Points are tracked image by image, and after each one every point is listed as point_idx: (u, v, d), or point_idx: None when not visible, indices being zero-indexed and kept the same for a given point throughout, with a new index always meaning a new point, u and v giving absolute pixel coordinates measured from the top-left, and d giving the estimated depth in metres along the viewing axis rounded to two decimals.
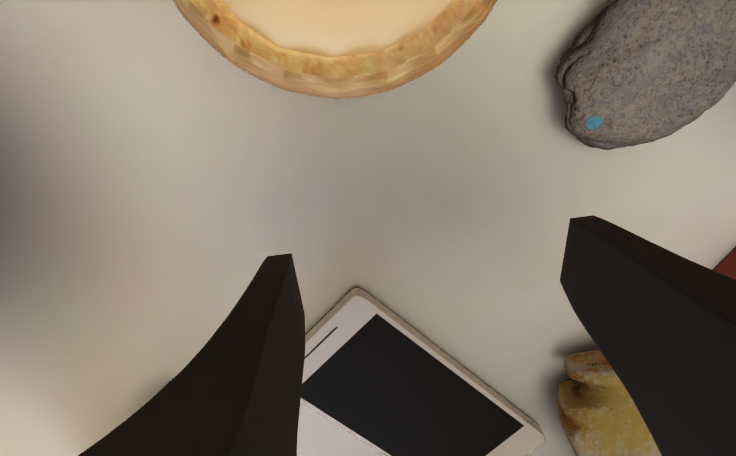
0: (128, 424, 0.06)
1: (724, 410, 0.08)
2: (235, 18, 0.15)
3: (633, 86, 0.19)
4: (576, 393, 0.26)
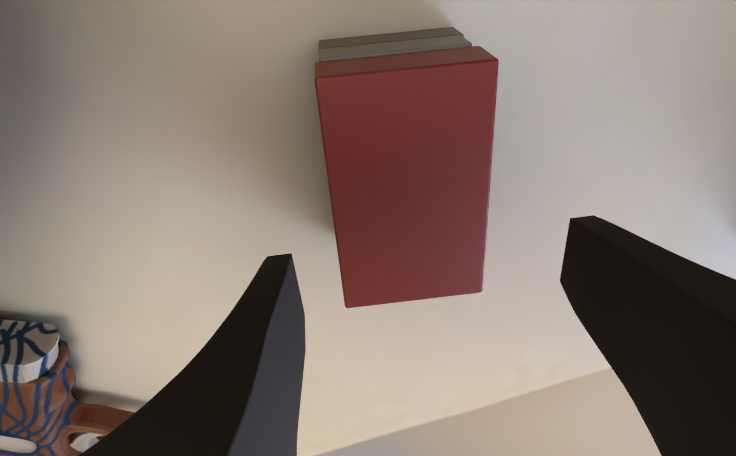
0: (128, 424, 0.06)
1: (724, 410, 0.08)
2: None
3: None
4: None
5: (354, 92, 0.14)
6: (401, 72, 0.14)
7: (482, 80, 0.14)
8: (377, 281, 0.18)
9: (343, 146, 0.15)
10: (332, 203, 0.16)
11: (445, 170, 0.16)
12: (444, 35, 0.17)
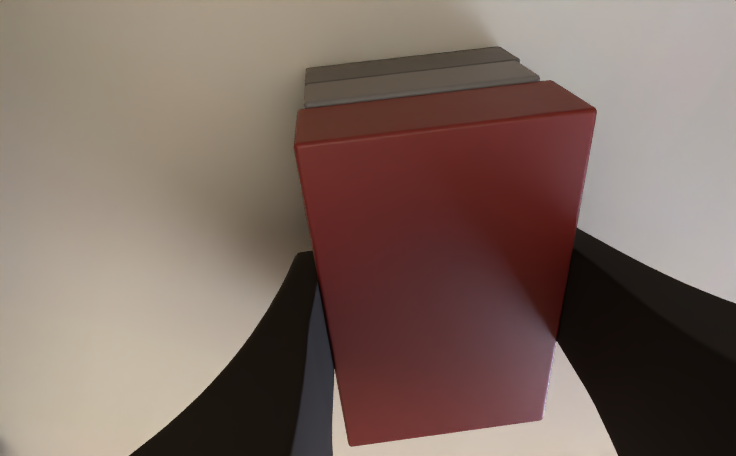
0: (184, 417, 0.07)
1: (673, 416, 0.08)
2: None
3: None
4: None
5: (360, 165, 0.09)
6: (438, 131, 0.08)
7: (568, 141, 0.09)
8: (394, 414, 0.13)
9: (343, 243, 0.09)
10: (327, 320, 0.11)
11: (500, 271, 0.10)
12: (491, 60, 0.11)
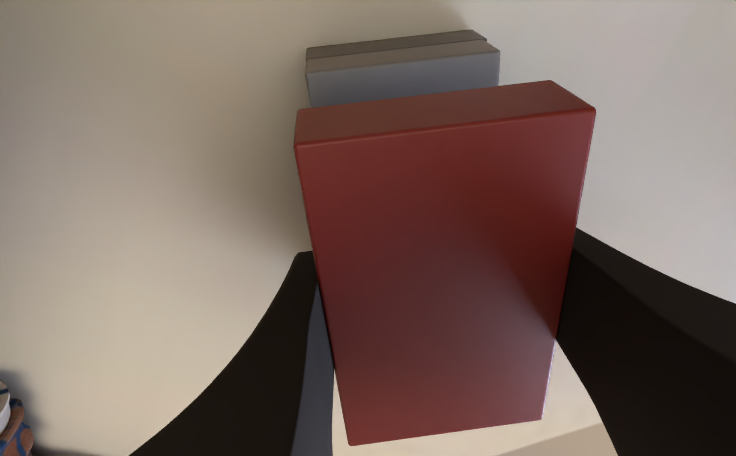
0: (184, 416, 0.07)
1: (673, 417, 0.08)
2: None
3: None
4: None
5: (360, 164, 0.09)
6: (438, 131, 0.08)
7: (568, 141, 0.09)
8: (394, 414, 0.13)
9: (343, 243, 0.10)
10: (327, 320, 0.11)
11: (500, 271, 0.10)
12: (462, 40, 0.14)
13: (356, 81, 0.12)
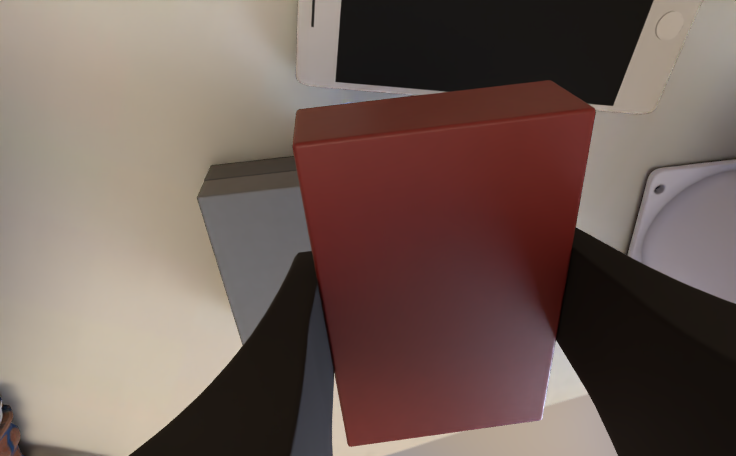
0: (184, 417, 0.07)
1: (672, 416, 0.08)
2: None
3: None
4: None
5: (359, 165, 0.09)
6: (437, 132, 0.08)
7: (567, 141, 0.09)
8: (393, 414, 0.12)
9: (342, 243, 0.09)
10: (326, 321, 0.11)
11: (500, 271, 0.10)
12: None
13: (231, 202, 0.19)
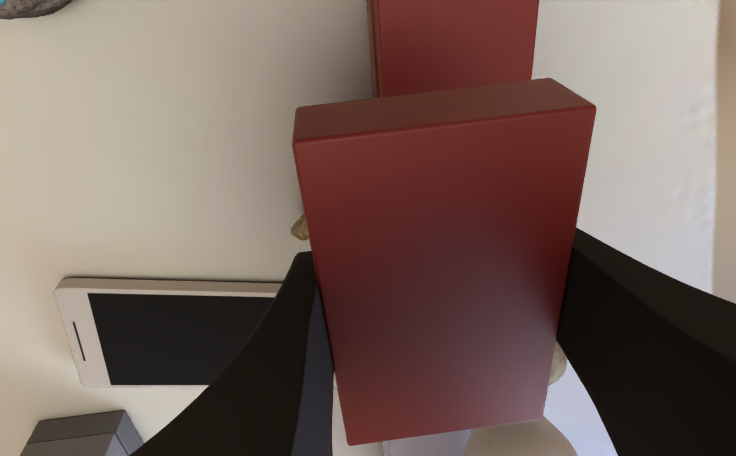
0: (184, 416, 0.07)
1: (673, 417, 0.08)
2: None
3: None
4: None
5: (359, 162, 0.09)
6: (437, 129, 0.08)
7: (568, 139, 0.09)
8: (393, 413, 0.12)
9: (341, 242, 0.09)
10: (326, 319, 0.11)
11: (500, 270, 0.10)
12: (105, 431, 0.28)
13: None
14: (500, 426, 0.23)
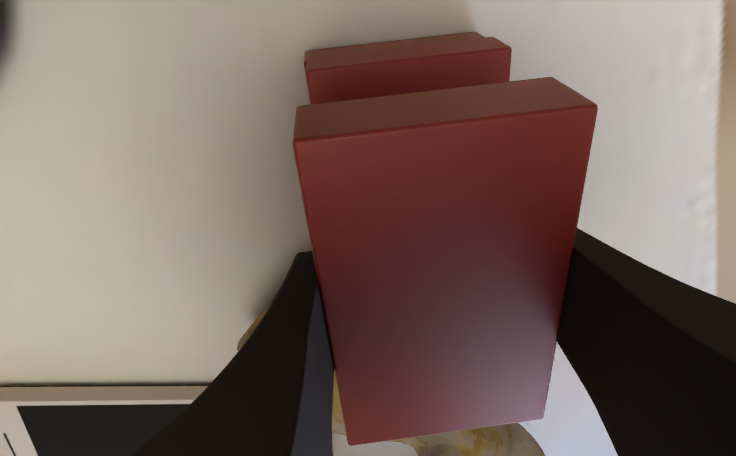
0: (184, 416, 0.07)
1: (673, 417, 0.08)
2: None
3: None
4: None
5: (360, 162, 0.09)
6: (438, 128, 0.08)
7: (569, 138, 0.09)
8: (394, 413, 0.12)
9: (342, 241, 0.09)
10: (326, 319, 0.11)
11: (501, 269, 0.10)
12: None
13: None
14: None
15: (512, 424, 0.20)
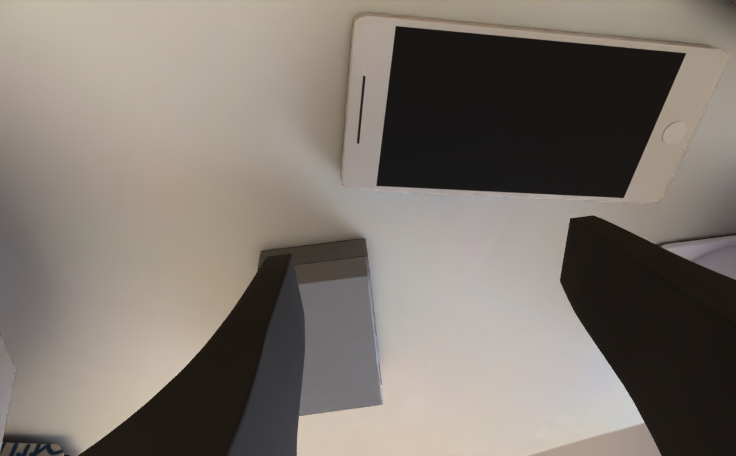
0: (129, 424, 0.06)
1: (723, 410, 0.08)
2: None
3: None
4: None
5: None
6: None
7: None
8: None
9: None
10: None
11: None
12: (353, 255, 0.22)
13: None
14: None
15: None
